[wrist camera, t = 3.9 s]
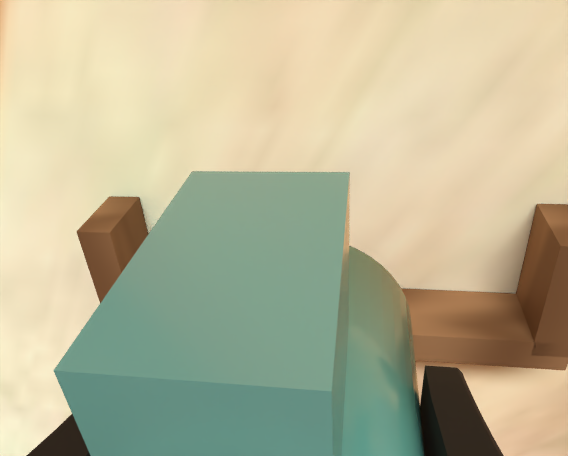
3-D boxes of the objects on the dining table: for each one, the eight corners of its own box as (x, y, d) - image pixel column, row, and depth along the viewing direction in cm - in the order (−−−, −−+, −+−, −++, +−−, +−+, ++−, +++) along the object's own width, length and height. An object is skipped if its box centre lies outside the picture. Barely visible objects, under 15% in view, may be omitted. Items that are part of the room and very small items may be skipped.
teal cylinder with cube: (442, 113, 9) (640, 661, 2) (411, 407, 13) (451, 901, 7) (152, 117, 10) (-286, 525, 3) (209, 391, 14) (66, 814, 8)
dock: (576, 204, 16) (605, 247, 14) (544, 320, 19) (565, 370, 17) (109, 196, 19) (76, 231, 17) (137, 298, 22) (112, 339, 19)
